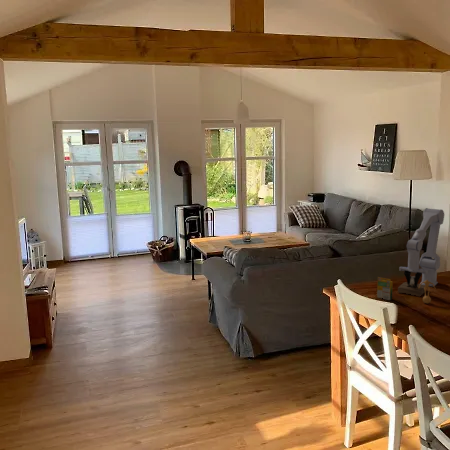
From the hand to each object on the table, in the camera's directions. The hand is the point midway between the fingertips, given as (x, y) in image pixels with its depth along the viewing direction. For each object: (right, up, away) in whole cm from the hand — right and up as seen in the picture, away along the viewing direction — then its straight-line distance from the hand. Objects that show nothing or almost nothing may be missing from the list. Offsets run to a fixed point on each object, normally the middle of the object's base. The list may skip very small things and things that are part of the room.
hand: (412, 284), depth 261 cm
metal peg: (0, -2, +1) cm, 2 cm away
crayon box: (-18, -6, -9) cm, 21 cm away
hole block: (0, -4, +1) cm, 4 cm away
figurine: (+1, -7, -17) cm, 18 cm away
